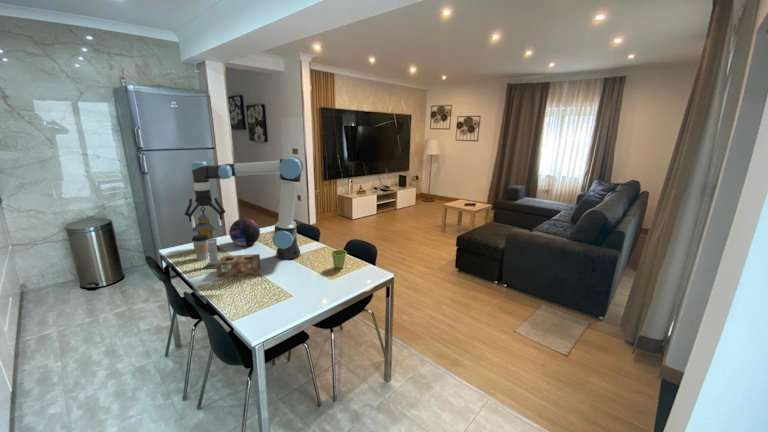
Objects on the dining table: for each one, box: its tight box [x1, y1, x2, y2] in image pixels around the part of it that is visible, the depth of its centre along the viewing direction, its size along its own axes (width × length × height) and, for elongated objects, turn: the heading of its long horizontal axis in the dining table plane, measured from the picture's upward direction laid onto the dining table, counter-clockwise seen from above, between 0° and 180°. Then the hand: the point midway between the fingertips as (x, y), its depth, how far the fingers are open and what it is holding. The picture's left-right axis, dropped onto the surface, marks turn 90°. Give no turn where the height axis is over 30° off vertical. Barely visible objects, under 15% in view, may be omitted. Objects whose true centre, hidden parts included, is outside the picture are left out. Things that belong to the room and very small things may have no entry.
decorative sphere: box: [228, 217, 261, 247], centre depth 216 cm, size 19×20×20 cm
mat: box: [202, 261, 217, 270], centre depth 181 cm, size 10×10×1 cm
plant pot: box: [330, 249, 348, 268], centre depth 184 cm, size 9×9×9 cm
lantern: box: [192, 206, 220, 255], centre depth 204 cm, size 14×14×30 cm
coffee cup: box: [191, 234, 209, 262], centre depth 190 cm, size 9×9×15 cm
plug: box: [207, 237, 219, 266], centre depth 179 cm, size 4×4×16 cm
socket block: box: [215, 253, 262, 278], centre depth 172 cm, size 20×12×8 cm, turn 101°
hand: (207, 226), depth 175 cm, fingers open, 13 cm apart
